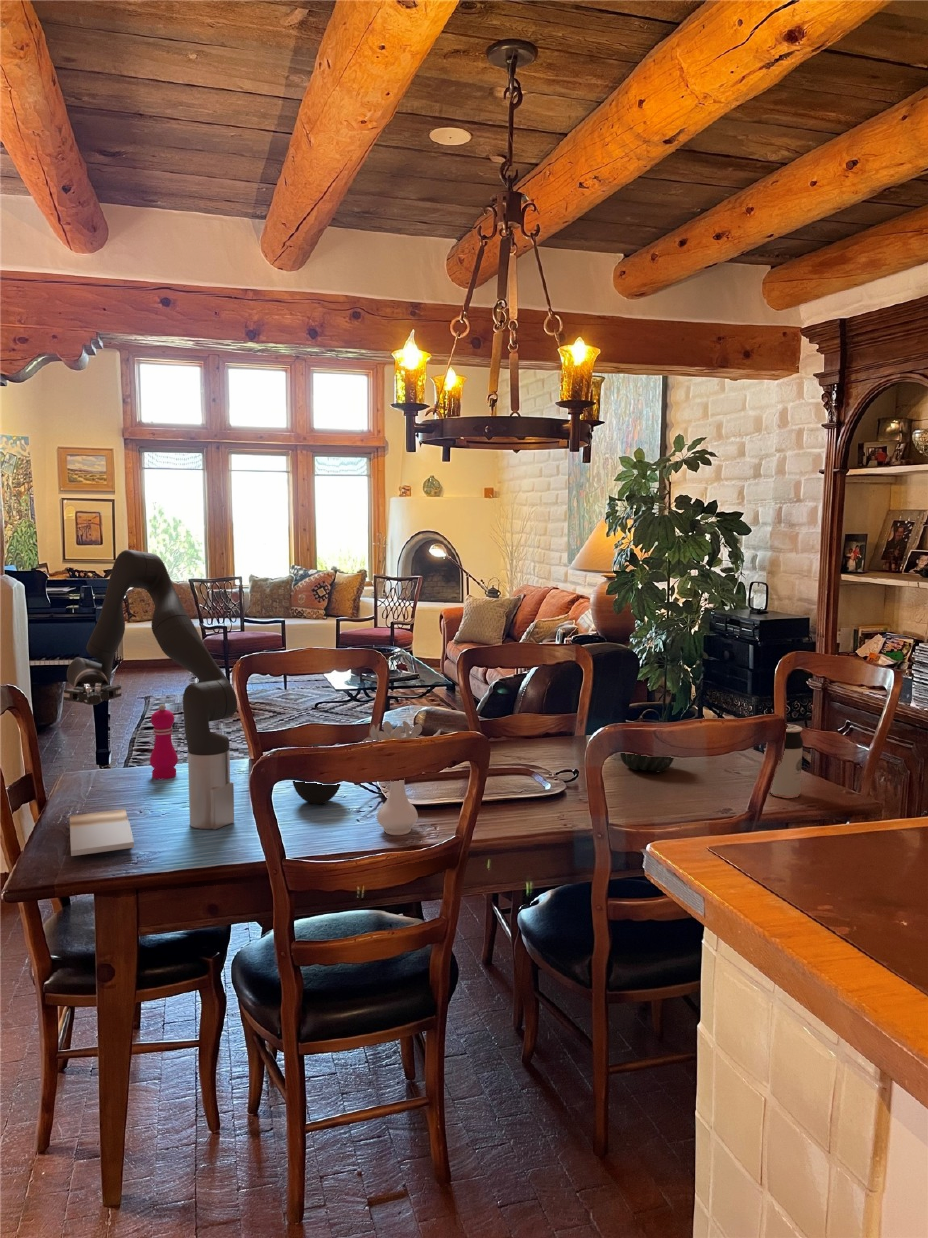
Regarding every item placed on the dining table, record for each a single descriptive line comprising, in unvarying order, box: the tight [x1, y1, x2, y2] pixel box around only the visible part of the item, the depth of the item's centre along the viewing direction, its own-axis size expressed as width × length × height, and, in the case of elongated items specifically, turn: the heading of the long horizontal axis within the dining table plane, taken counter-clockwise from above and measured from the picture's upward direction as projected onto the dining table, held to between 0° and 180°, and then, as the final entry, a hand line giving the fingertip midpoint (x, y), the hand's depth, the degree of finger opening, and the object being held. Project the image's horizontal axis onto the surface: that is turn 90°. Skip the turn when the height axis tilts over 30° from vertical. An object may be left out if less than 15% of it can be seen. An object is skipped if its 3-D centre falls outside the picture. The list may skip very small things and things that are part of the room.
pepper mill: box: [149, 703, 179, 780], centre depth 238 cm, size 7×7×20 cm
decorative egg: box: [292, 743, 342, 805], centre depth 217 cm, size 12×12×15 cm
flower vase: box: [360, 720, 442, 836], centre depth 199 cm, size 13×18×25 cm
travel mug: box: [771, 723, 804, 796], centre depth 228 cm, size 8×8×18 cm
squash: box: [619, 721, 675, 772], centre depth 250 cm, size 14×15×15 cm
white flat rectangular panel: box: [69, 820, 135, 857], centre depth 186 cm, size 1×12×14 cm
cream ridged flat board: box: [69, 808, 129, 829], centre depth 195 cm, size 20×12×2 cm, turn 25°
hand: (94, 700), depth 194 cm, fingers closed
